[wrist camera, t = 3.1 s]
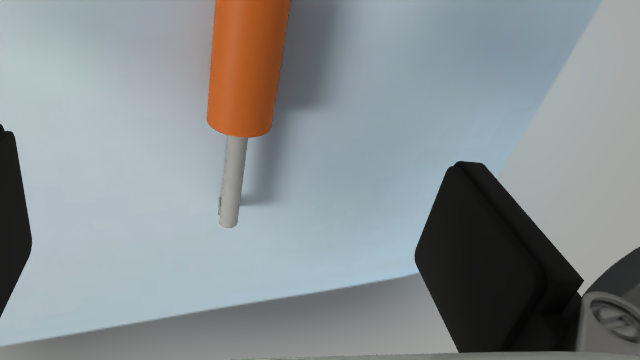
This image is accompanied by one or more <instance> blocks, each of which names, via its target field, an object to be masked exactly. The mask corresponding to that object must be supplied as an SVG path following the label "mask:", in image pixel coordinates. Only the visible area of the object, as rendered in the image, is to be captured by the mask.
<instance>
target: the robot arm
mask: <svg viewBox="0 0 640 360" xmlns="http://www.w3.org/2000/svg"><path fill="white" fill-rule="evenodd" d="M31 247H32V237H31V231H30V225H29V219H28V213H27V207H26V201H25V195H24V189H23V183H22V177H21V171H20V165H19V159H18V153H17V147H16V141H15V136H14V134H13V133H12V132H11V131H4V128H3V126H2V125H1V124H0V317H1V315H2V313H3V311H4V308H5V306H6V304H7V302H8V300H9V298H10V296H11V294H12V292H13V289H14V287H15V285H16V283H17V281H18V279H19V277H20V275H21V273H22V270H23V268H24V266H25V264H26V262H27V260H28V258H29V255H30V252H31ZM415 263H416V265H417V267H418V269H419V271H420V274H421V275H422V278H423V280H424V282H425V284H426V286H427V288H428V290H429V291H430V294H431V296H432V298H433V300H434V302H435V304H436V306H437V308H438V311H439V313H440V315H441V317H442V319H443V320H444V323H445V325H446V327H447V329H448V331H449V333H450V335H451V337H452V339H453V341H454V344H455V345H456V348H457V350H458V352H459V353H439V354H401V355H400V354H399V355H362V356H329V357H296V358H263V359H235V360H640V309H638V308H637V307H636V306H634V305H633V304H631V303H629V302H628V301H626V300H624V299H622V298H620V297H617V296H615V295H612V294H609V293H604V292H599V291H598V292H590V293H588V294H586V295H584V297H583V298H582V297H581V296H580V295H579V293H578V292H577V290H578V289H579V287H580V286H581V284H582V283H583V282H584V280H583V279H582V278H581V276H580V275H579V274H578V273H577V272H576V271H575V269H574V268H573V267H572V266H571V265H570V264H569V262H568V261H567V260H566V259H565V258H564V257H563V256H562V255H561V253H560V252H559V251H558V250H557V249H556V247H555V246H554V245H553V244H552V243H551V242H550V240H549V239H548V238H547V237H546V236H545V235H544V234H543V232H542V231H541V230H540V229H539V228H538V227H537V226H536V225H535V223H534V222H533V221H532V220H531V218H530V217H529V216H528V215H527V214H526V213H525V212H524V210H523V209H522V208H521V207H520V206H519V205H518V203H516V201H515V200H514V199H513V198H512V196H511V195H510V194H509V193H508V192H507V191H506V190H505V188H504V187H503V186H502V185H501V184H500V183H499V181H498V180H497V179H496V178H495V177H494V176H493V175H492V173H491V172H490V171H489V170H488V169H487V168H486V166H485V165H483V164H482V163H476V162H464V161H459V162H457V163H456V164H455V165H454V166H451V167H449V168H448V169H447V171H446V173H445V176H444V179H443V181H442V184H441V186H440V189H439V191H438V194H437V196H436V199H435V201H434V204H433V206H432V209H431V212H430V214H429V217H428V219H427V222H426V224H425V227H424V229H423V232H422V234H421V237H420V240H419V242H418V245H417V247H416V250H415ZM232 360H234V359H232Z"/></svg>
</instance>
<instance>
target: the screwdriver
mask: <svg viewBox="0 0 640 360" xmlns="http://www.w3.org/2000/svg"><path fill="white" fill-rule="evenodd" d="M290 2H291V0H216V1H215V14H214V28H213V42H212V55H211V69H210V82H209V96H208V110H207V121H208V124H209V125H210V126H211V127H212V128H213V129H215V130H217V131H219V132H221V133H223V134H226V135H228V138H227V147H226V157H225V167H224V177H223V187H222V197H220V198H219V205H218V215H219V216H220V217H219V223H220V225H221V226H223V227H225V228H232V227H235V226H236V225H237V221H238V214H239V206H240V198H241V190H242V182H243V174H244V166H245V158H246V150H247V142H248V137H257V136H261V135H264V134H266V133H267V132H269V131H270V129H271V126H272V119H273V113H274V106H275V100H276V93H277V87H278V80H279V74H280V67H281V61H282V54H283V47H284V41H285V34H286V28H287V21H288V15H289V8H290Z"/></svg>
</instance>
